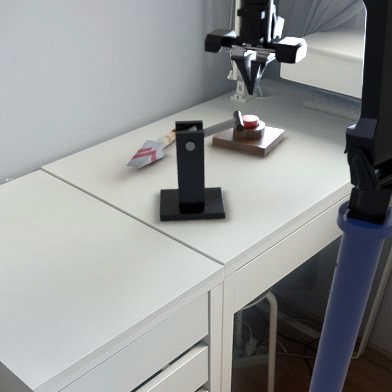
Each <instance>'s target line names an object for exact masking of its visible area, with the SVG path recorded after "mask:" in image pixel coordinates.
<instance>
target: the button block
mask: <svg viewBox="0 0 392 392" xmlns="http://www.w3.org/2000/svg"><path fill="white" fill-rule="evenodd" d="M265 124H266V123H265V122H264V121H262V120H260V119H258V127H257V128H254V129H245V128H244V130H243V131H242V132H238V131H237V130H236V127H234V128H231V129H228V130H225V131H222V132H219V133H217V134H214V135H212V136H211V137H212V138H211V141H212V142H211V146H215V147H219V148H225V149H229V150H233V151H238V152H243V153H247V154H251V155H256V156H261V157H265V156H266V155H268V153H270V152H271V151H272V150H273V149H274V148H275V147H276V146H277V145H278V144H280V142H282V140H284V137H285V130H284V129H281V128H275V127H271V126H266V125H265Z"/></svg>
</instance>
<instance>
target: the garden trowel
mask: <svg viewBox="0 0 392 392" xmlns="http://www.w3.org/2000/svg"><path fill="white" fill-rule="evenodd" d="M174 141H176V136H175V127H174V128H173V129H172V130H171V131H169V132H167V134H165V135H163V136H162V137H161V138H160V139H158V140H157V141H155V140H151V139H146V141H145V142H144V143H143V144H142V145H141V147H140V148H139V149H138V150H137V151H136V153H135V154H134V155H133V156H132V157H131V158H130V160H129V161H128V162H127V163H126V164H125V166H126V167H131V168H137V169H139V168H142V167H144V166H146V165H149V164H151V163H153V162H155V161H158V160H160V159H162V158H164V157H165V156H166V155H165V153H164V152H165V151H164V149H165V148H166V147H167V146H169V145H170V144H172V142H174Z"/></svg>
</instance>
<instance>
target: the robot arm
mask: <svg viewBox="0 0 392 392" xmlns="http://www.w3.org/2000/svg"><path fill="white" fill-rule="evenodd" d="M361 1H362V3H363V5H364V8H365V28H364V44H363V58H362V60H363V61H362V62H363V63H362V76H361V93H360V94H361V95H360V96H361V98H360V110H359V111H360V112H359V113H360V114H359V117H358V119H357V121H356V123H354V124H353V125H351V126H348V127H347V128H346V129H345V148H344V150H343V154H344V155H346V161H347V162H346V163H347V165H348V166H349V167H348V168H349V179H350V184H351V185H352V187H351V190H350V196H349V199H348V200H349V204H348V209H350V210H349V212H348V213H347V217H349V218H353V219H357V220H361V221H365V222H369V223H373V224H377V225H383V224H384V222H385V221H386V219H387V217H388V215H389V214H390V212H391V210H392V207H391V205H392V0H361ZM239 7H240V8H237V9H236V17H238V18H239V30H238V31H239V33H238V35H236V32H235V30H232V29H225V28H216V29H213V31H210V32H209V33H207V34H206V35H205V37H204V40H203V51H204V52H207V53H211V54H218V53H220V52H221V50H222V49H223V48H229V49H232V54H231V56H230V61H233V62H234V63H235V66H236V67H237V69H238V71H239V73H240V76H241V78H242V80H243V83H244V86H245V89H246V91H247V94H248V95H249V96H254V95H256V91H257V89H258V86H259V83H260V82H261V78H262V75H263V73H264V71H265V69H266V67H267V65H268V64H269V63H271V62H272V61H274V60H276V61H277V63H281V64H289V65H294V64H297V63H298V62H300V61H301V60H303V59H304V58H305V57H306V56H307V49H308V43H307V42H306V39H305V38H299V37H290V36H286V37H285V38H283V39H281V37H282V32H283V27H284V23H285V19H284V18H282V17H281V16H279V15H276V4H274V0H240V6H239ZM274 39H281V40H280V41H271V40H274Z"/></svg>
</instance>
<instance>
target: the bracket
mask: <svg viewBox="0 0 392 392" xmlns="http://www.w3.org/2000/svg"><path fill="white" fill-rule="evenodd" d="M193 126H196V129H197V131H181V130H184V129H187V128H190V127H193ZM174 128H175V136H176V139H175V153H176V154H175V155H176V173H177V188H165V189H164V188H163V189H162V188H161V189H160V190H159V193H160V194H159V222H179V221H180V222H181V221H201V220H202V221H205V220H206V221H208V220H209V221H210V220H225V219H226V208H225V203H224V196H223V190H222V189H223V188H222V187H221V186H215V187H214V186H213V187H206V184H205V183H206V180H205V179H206V175H205V174H206V173H205V172H206V171H205V169H206V168H205V167H206V166H205V165H206V164H205V162H206V161H205V138H204V130H202V129H204V121H203V119H198V120H196V119H195V120H175V121H174Z"/></svg>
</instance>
